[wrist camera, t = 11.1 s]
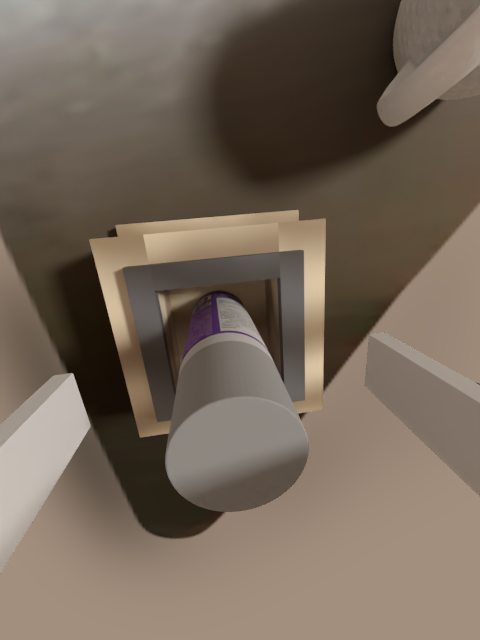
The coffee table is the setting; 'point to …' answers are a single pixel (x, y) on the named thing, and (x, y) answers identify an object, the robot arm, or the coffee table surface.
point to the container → (231, 414)
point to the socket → (206, 276)
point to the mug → (432, 56)
